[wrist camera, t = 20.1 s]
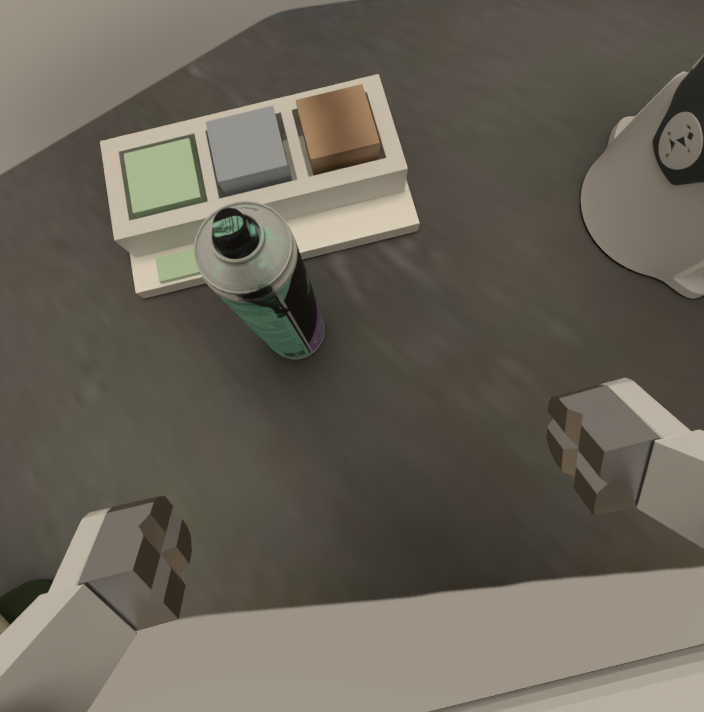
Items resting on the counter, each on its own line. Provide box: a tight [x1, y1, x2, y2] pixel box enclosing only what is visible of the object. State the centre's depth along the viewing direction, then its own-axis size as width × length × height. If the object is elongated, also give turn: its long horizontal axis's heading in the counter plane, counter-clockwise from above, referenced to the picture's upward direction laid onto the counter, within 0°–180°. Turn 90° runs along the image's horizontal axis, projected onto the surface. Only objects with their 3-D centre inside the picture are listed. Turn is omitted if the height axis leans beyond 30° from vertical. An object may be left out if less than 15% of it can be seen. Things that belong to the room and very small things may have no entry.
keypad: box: [100, 74, 420, 299], centre depth 40 cm, size 27×14×5 cm, turn 104°
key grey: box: [206, 106, 292, 197], centre depth 38 cm, size 6×6×4 cm
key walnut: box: [295, 84, 380, 176], centre depth 38 cm, size 6×6×4 cm
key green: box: [124, 138, 208, 218], centre depth 40 cm, size 6×6×4 cm
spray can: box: [194, 201, 325, 359], centre depth 30 cm, size 6×6×20 cm
